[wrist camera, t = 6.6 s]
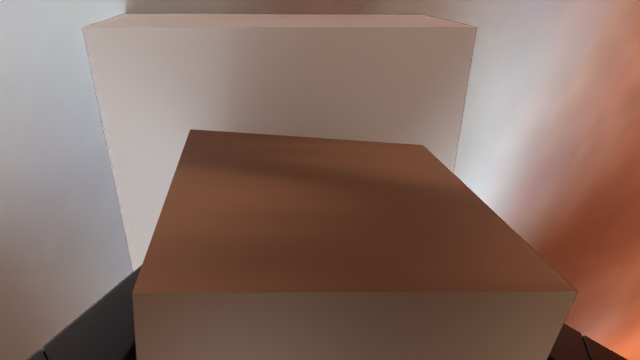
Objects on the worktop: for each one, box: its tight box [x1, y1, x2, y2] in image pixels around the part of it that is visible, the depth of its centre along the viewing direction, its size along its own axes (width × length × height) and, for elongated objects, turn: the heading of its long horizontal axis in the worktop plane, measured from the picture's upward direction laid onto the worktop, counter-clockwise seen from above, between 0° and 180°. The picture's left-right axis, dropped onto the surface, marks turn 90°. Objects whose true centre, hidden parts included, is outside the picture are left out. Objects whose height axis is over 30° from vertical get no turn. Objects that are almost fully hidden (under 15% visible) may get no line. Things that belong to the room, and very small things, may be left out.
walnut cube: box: [132, 129, 578, 360], centre depth 8 cm, size 5×5×5 cm
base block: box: [82, 14, 477, 272], centre depth 14 cm, size 9×9×4 cm
